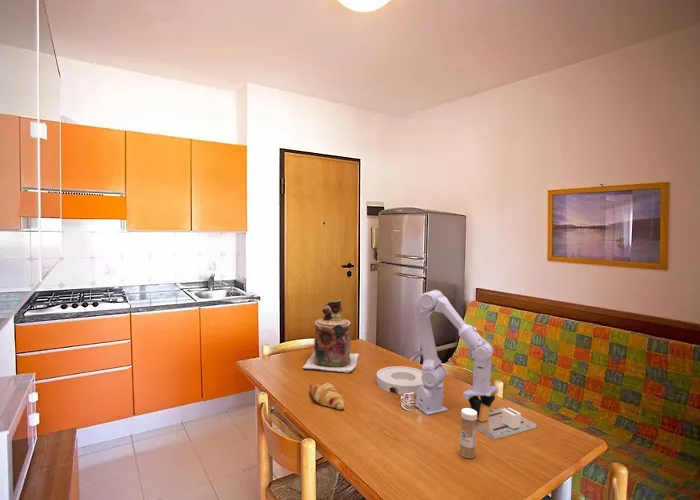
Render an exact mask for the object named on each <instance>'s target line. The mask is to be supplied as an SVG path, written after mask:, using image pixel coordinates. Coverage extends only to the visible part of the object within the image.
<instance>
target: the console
mask: <svg viewBox="0 0 700 500" xmlns="http://www.w3.org/2000/svg"><path fill="white" fill-rule="evenodd" d="M505 408H506V407H505V406H503V407H499V408H496V407H494V409H491V408H489V420H486V421H482V422H481V421H480V420H478V419H477V420H476V431H477V430H478V431H479V432H480V433H482V434H484V435H485V436H487V437H489V438H490V439H492V440H493V441H494V440H498V439H501V438H505V437H509V436H512V435H515V434H520V433H522V432H523V433H524V432H525V431H530V430H532V429H536V428H537V423H535V422H534V421H531V420H529V419H528V418H526V417H523V416H522V415H521V427H518V428H515V429H512V428H511V427H509V426H507V425H505V424H504V423H502V422H501V418H502V409H505Z"/></svg>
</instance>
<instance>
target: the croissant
mask: <svg viewBox="0 0 700 500" xmlns="http://www.w3.org/2000/svg"><path fill="white" fill-rule="evenodd" d="M309 390H310V395H311V397H312V400H313V401H315V402H316V403H318V404H319V405H321V406H324V407H325V406H326V407H329V408H335V409H336V410H343V409H344V408H345V400H344V397H343V395H342V394H341V392H340V391H338V388H337V387H336V386H335V385H334V384H332V383H329V382H326V381H324V382H323V383H319V384H316V383H315V384H310V385H309Z"/></svg>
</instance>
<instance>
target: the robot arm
mask: <svg viewBox="0 0 700 500" xmlns="http://www.w3.org/2000/svg"><path fill="white" fill-rule="evenodd" d="M433 312H435V313H436V312H437V313H440V314H444V316H445V317H446V318H447V319H448V320H449V321H450V323H452V325H453V326H454V327H455V328H456V329H457V330H458V336H459V338H460V339H461V340H462V341H463V342H464V344H465V345H466V346H467V347H468V348H469V350H471V356H472V358H473V359H474V360H473V373H472V374H473V375H472V378H473V379H472V387H471V388H469V389H468V390H465V391H463V392H462V393H463V395H462V397H463V398H464V399H466V400H468V402H469V405H470V409H473V410H475V411H476V412H477V418H478V417H479V411H480V406H481V403H483V404H485V405H487V406H489V407H490V408H491V406H492V404H493V402H494V401H495V400H496V396H495V395H493V394H498V393H499V387H497V386H496V385H491V374H492V358H491V357H492V356H493V354H494V348H493V345H492V344H491V342H489V341H487V340H486V339H485V338H484V339H483V337H482V336H481V335H480V334H479V333H478V331H477V330H478V329H477V328H476V326H472V325H470V324H467V323H466V322H465V320H463V318H462V317H461V316H460V314H459V313H458V312H457V311H456V309H455V308H454V307H453V305H452V303H450V301H449V299H448V297H446V296H445V295H444V294H443V292H442V291H440V290H439V289H432V290H431V291H427V292H423V293H421V295H420V296H419V297H418V298H417V304H416V307H415V311H414V317H415V318H414V319H415V323H416V329H417V333H418V339H419V344H420V348H421V353H422V358H423V363H422V366H421V370H422V382H423V383H424V384H423V385H422V386H421V387H418V389H417V393H416V395H415V396H416V397H415V405H416V406H417V407H418V408H419V410H420V411H421V412H423V413H424V414H425V415H432V414H438V413H441V412H446V411H448V408H447V407H445V406H444V405H443V403H444V402H443V401H444V399H443V398H444V382H443V380H444V379H445V378H446V376H447V371H446V369H445V367H444V366H443V364H442V360H441V359H440V358H439V357H438V353H437V347H436V342H435V338H434V333H433V328H432V321H431V319H430V316H431V314H433ZM417 407H416V408H417ZM418 408H417V409H418Z"/></svg>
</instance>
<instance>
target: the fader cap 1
mask: <svg viewBox="0 0 700 500" xmlns="http://www.w3.org/2000/svg"><path fill="white" fill-rule="evenodd" d="M489 409H491V406H490V407H489V406H487V405H485V404H483V403H481V406H480V411H479V417H478V418H477V419H478V420H480V421H481V422H482V421H486V420H489Z"/></svg>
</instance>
